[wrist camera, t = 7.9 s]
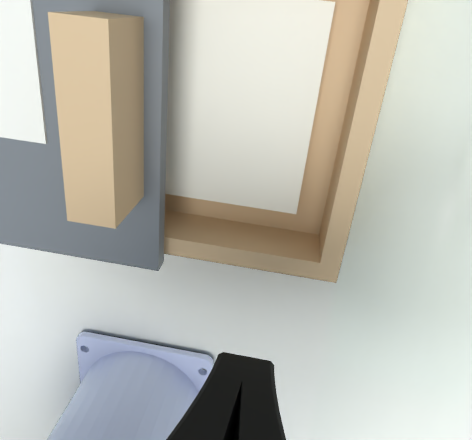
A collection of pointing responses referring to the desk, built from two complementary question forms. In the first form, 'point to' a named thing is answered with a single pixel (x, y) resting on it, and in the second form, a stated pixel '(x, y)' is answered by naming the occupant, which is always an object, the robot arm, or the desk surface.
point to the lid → (84, 128)
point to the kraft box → (272, 127)
